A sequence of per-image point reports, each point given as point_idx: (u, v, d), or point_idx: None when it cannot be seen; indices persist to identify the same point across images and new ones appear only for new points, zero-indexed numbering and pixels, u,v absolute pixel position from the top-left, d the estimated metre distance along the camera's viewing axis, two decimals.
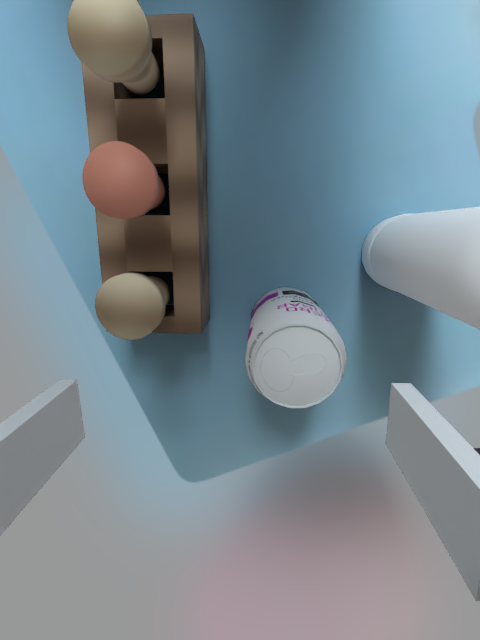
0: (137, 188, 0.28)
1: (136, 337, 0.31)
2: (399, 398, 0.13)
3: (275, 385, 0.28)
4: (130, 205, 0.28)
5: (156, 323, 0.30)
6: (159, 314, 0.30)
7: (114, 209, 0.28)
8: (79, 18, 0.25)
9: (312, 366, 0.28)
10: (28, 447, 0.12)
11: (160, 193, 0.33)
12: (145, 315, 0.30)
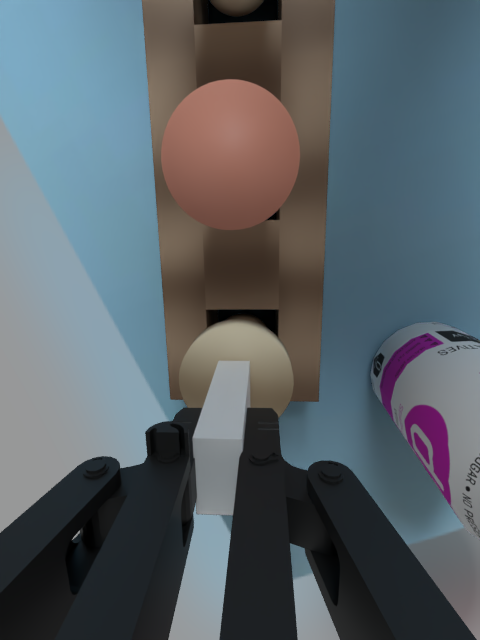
0: (266, 172, 0.14)
1: None
2: None
3: None
4: (250, 205, 0.15)
5: (283, 407, 0.18)
6: (290, 393, 0.17)
7: (219, 213, 0.15)
8: None
9: None
10: None
11: None
12: (265, 394, 0.17)
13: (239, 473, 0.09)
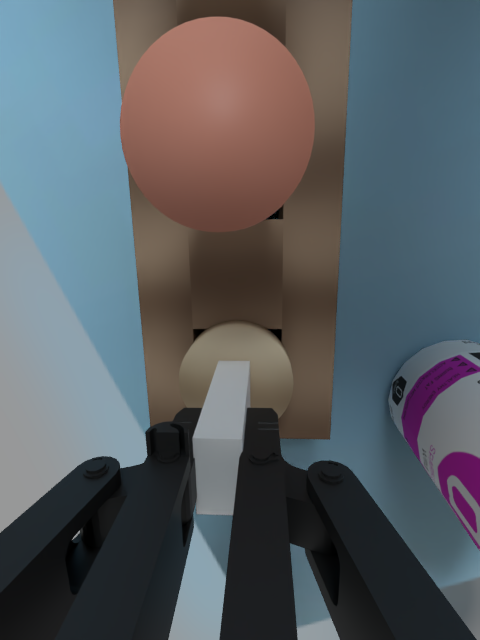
0: (267, 151, 0.10)
1: None
2: None
3: None
4: (245, 197, 0.11)
5: (283, 408, 0.18)
6: (290, 394, 0.17)
7: (202, 209, 0.11)
8: None
9: None
10: None
11: None
12: (265, 395, 0.17)
13: (239, 473, 0.09)
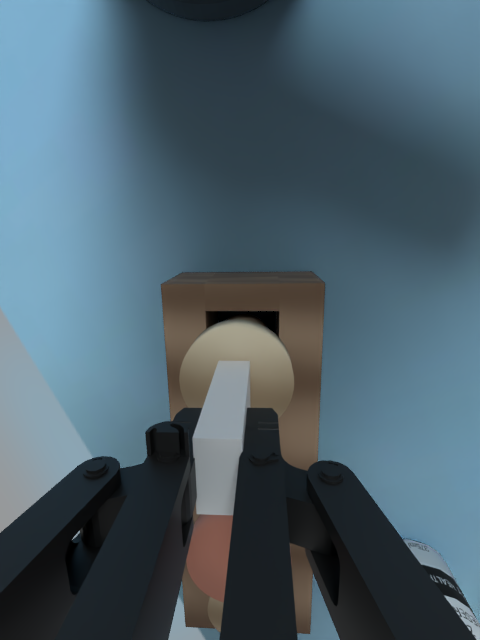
0: None
1: None
2: None
3: None
4: None
5: None
6: None
7: None
8: (196, 369, 0.17)
9: None
10: None
11: None
12: None
13: (239, 473, 0.09)
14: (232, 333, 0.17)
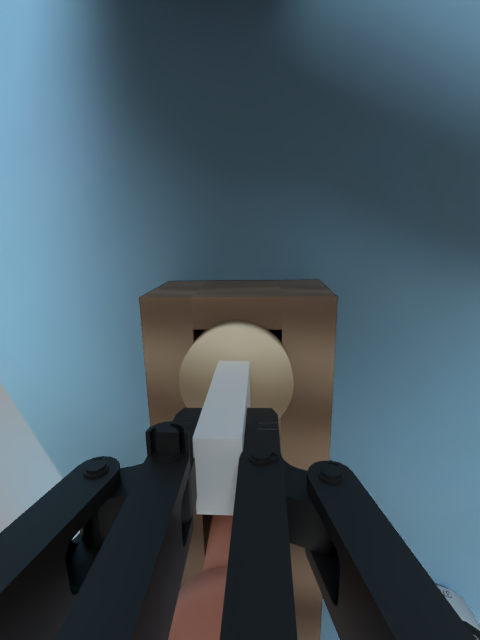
0: None
1: None
2: None
3: None
4: None
5: None
6: None
7: None
8: (196, 370, 0.17)
9: None
10: None
11: None
12: None
13: (239, 473, 0.09)
14: (231, 334, 0.17)
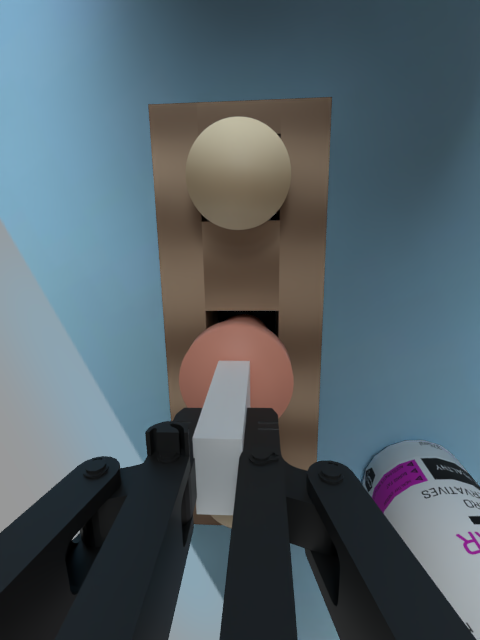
0: (266, 394, 0.17)
1: None
2: None
3: None
4: None
5: None
6: None
7: None
8: (201, 162, 0.19)
9: None
10: None
11: None
12: None
13: (239, 473, 0.09)
14: (234, 123, 0.18)
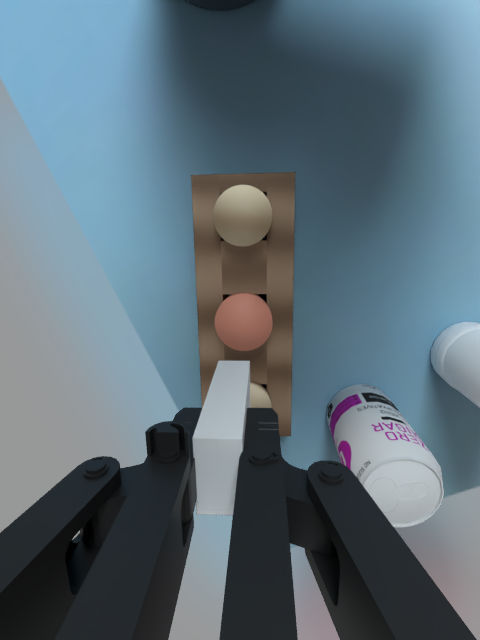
0: (258, 328, 0.35)
1: None
2: None
3: (381, 507, 0.32)
4: (252, 341, 0.35)
5: None
6: None
7: (238, 344, 0.35)
8: (222, 208, 0.34)
9: (416, 492, 0.31)
10: None
11: None
12: None
13: (239, 473, 0.09)
14: (240, 188, 0.33)
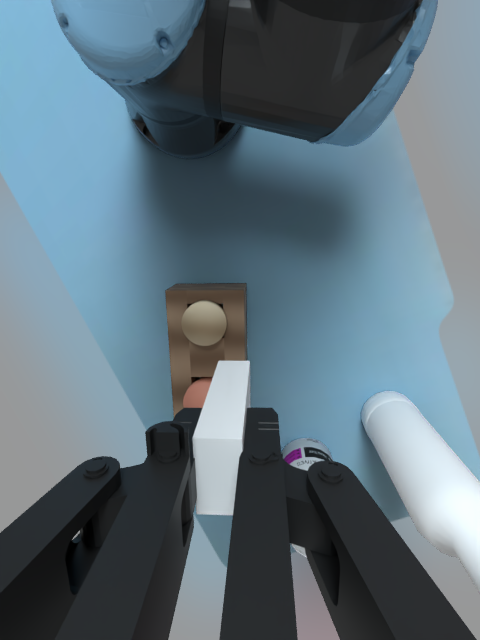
0: None
1: None
2: None
3: None
4: None
5: None
6: None
7: None
8: (188, 319, 0.44)
9: None
10: None
11: None
12: None
13: (239, 473, 0.09)
14: (201, 304, 0.44)
